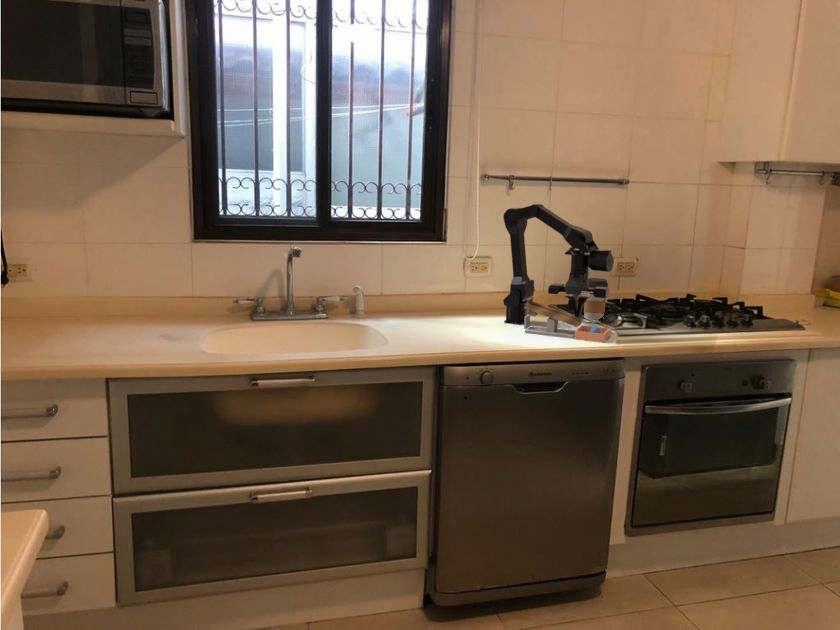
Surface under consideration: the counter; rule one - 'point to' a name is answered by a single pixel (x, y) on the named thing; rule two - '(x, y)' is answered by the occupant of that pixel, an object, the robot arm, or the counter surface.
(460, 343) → the counter surface
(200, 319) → the counter surface
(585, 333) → the dish
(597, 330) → the ball
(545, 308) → the lever
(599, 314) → the coffee cup
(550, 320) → the launcher base
